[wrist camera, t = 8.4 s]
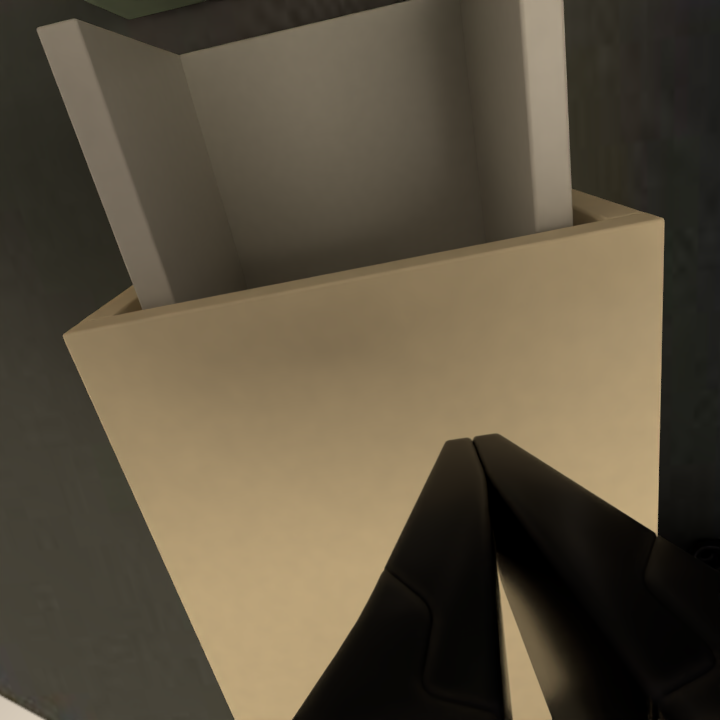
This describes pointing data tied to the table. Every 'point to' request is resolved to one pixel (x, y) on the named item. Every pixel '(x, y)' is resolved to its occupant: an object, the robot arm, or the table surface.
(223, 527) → the small drawer cabinet
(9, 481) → the table surface
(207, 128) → the green drawer
